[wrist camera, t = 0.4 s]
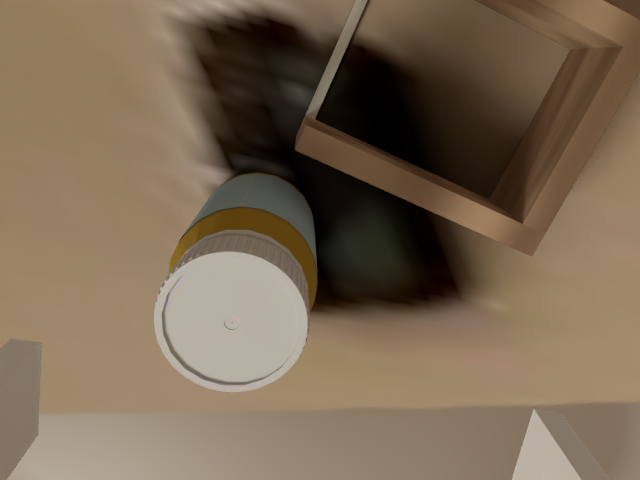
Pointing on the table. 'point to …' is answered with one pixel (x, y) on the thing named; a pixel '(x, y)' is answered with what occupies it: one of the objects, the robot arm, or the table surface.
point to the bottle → (240, 286)
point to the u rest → (536, 145)
